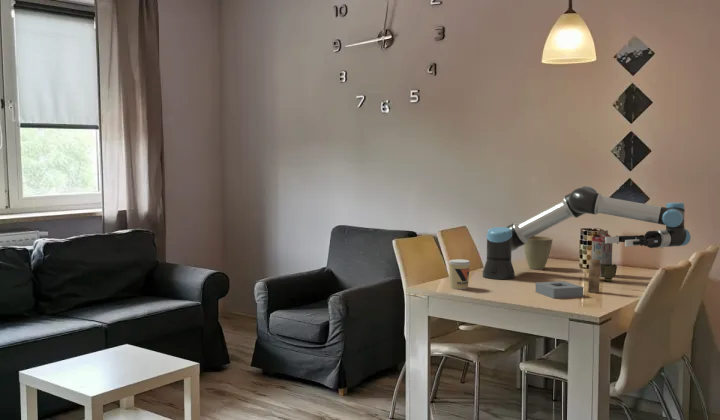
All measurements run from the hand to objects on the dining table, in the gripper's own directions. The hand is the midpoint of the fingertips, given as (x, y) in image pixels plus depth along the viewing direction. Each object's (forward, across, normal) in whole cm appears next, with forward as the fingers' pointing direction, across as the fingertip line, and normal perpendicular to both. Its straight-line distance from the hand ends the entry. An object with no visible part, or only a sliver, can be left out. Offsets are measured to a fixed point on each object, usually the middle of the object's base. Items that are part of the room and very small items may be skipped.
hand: (615, 241), depth 301 cm
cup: (-11, +20, -21) cm, 31 cm away
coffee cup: (+63, +24, -19) cm, 70 cm away
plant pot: (+2, +61, -20) cm, 64 cm away
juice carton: (-18, +35, -21) cm, 45 cm away
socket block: (+28, 0, -21) cm, 35 cm away
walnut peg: (+11, 0, -21) cm, 24 cm away
